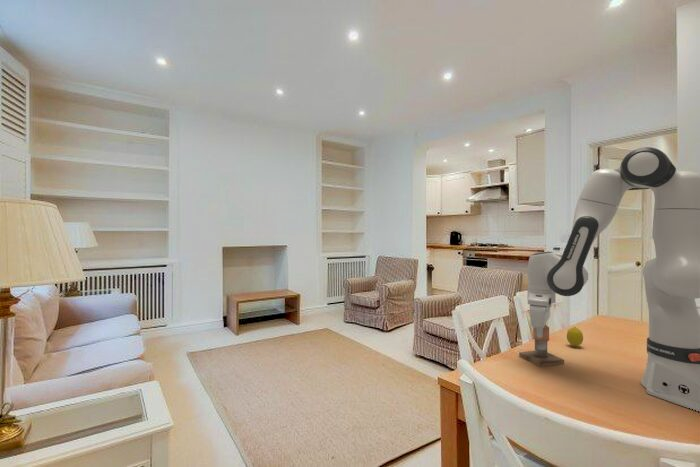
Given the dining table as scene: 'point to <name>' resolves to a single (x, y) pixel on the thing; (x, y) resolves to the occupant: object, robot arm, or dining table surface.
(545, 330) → the cap
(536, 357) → the stud base
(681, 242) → the robot arm
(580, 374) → the dining table surface
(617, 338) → the dining table surface
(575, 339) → the lemon
